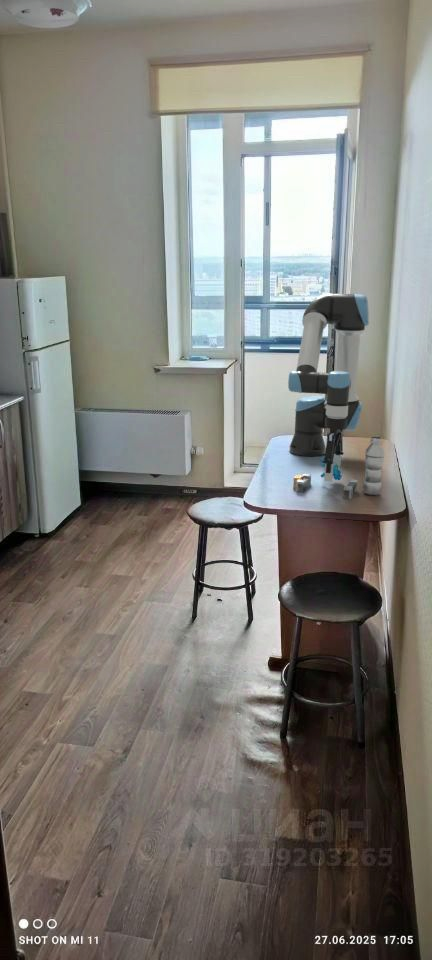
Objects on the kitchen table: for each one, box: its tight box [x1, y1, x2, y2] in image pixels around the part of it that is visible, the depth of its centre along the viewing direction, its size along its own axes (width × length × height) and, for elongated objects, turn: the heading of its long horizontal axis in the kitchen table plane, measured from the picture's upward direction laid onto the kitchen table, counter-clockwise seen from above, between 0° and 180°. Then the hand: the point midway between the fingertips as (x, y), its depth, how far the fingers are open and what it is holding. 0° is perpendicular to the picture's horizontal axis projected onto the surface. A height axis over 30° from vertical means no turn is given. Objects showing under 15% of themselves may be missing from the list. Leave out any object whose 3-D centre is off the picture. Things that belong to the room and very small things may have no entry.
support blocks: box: [292, 473, 358, 500], centre depth 237 cm, size 10×21×4 cm, turn 67°
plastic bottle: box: [362, 436, 386, 496], centre depth 232 cm, size 6×7×20 cm
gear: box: [320, 456, 343, 481], centre depth 243 cm, size 11×6×10 cm
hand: (332, 476), depth 243 cm, fingers closed on gear, 11 cm apart
